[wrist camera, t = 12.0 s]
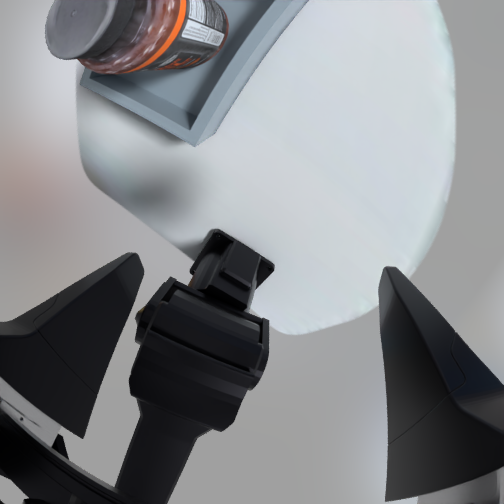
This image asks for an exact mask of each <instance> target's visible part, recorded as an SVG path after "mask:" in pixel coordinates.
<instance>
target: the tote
mask: <svg viewBox="0 0 504 504" xmlns="http://www.w3.org/2000/svg"><path fill="white" fill-rule="evenodd" d="M214 1H215V2H217V3H218V4H219V5H220V6H221V7H222V8H223V10H224V11H225V13H226V15H227V18H228V22H229V32H228V36H227V39H226V41H225V43H224V45H223V47H222V48H221V50H220V51H219V52H218V53H217V54H216V55H215V56H214V57H212V58H211V59H210V60H208V61H207V62H205V63H203V64H201V65H198V66H195V67H192V68H187V69H170V70H152V71H142V72H133V73H121V74H100V73H96V72H94V71H91V70H89V69H87V68H86V67H85V70H84V73H83V76H82V79H81V82H80V85H81V86H83V87H85V88H88V89H90V90H92V91H94V92H96V93H98V94H100V95H102V96H104V97H106V98H107V99H109V100H111V101H113V102H115V103H117V104H119V105H121V106H123V107H125V108H127V109H129V110H130V111H132V112H134V113H136V114H138V115H140V116H141V117H143V118H145V119H147V120H149V121H150V122H152V123H154V124H156V125H158V126H159V127H161V128H163V129H165V130H166V131H168V132H170V133H172V134H173V135H175V136H177V137H178V138H180V139H182V140H184V141H185V142H187V143H189V144H190V145H192V146H194V147H196V146H197V145H199V144H200V143H202V142H203V141H205V140H206V139H208V138H209V137H211V136H212V135H214V134H215V132H216V131H217V129H218V127H219V126H220V124H221V122H222V121H223V119H224V117H225V116H226V114H227V113H228V111H229V109H230V108H231V106H232V105H233V103H234V101H235V100H236V98H237V97H238V95H239V94H240V92H241V91H242V89H243V88H244V86H245V85H246V83H247V82H248V80H249V79H250V77H251V76H252V74H253V73H254V71H255V70H256V68H257V67H258V65H259V64H260V63H261V61H262V60H263V58H264V57H265V56H266V54H267V53H268V51H269V50H270V49H271V47H272V46H273V45H274V43H275V42H276V41H277V39H278V38H279V37H280V35H281V34H282V33H283V31H284V30H285V29H286V28H287V26H288V25H289V24H290V23H291V21H292V20H293V19H294V18H295V16H296V15H297V14H298V13H299V11H300V10H301V9H302V8H303V7H304V5H305V4H306V3H307V2H308V1H309V0H214Z"/></svg>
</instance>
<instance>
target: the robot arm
mask: <svg viewBox="0 0 504 504" xmlns="http://www.w3.org/2000/svg"><path fill="white" fill-rule="evenodd" d="M217 235H220V237H218V236H217ZM268 267H271V268H268ZM274 269H275V265H274V264H273V263H272V262H270V261H269V260H267V259H266V258H264V257H262V256H261V255H260V254H258V253H257V252H255V251H253V250H252V249H250V248H249V247H247V246H245V245H244V244H242V243H241V242H239V241H237V240H235V239H234V238H232V237H231V236H229V235H228V234H226V233H224V232H223V231H221V230H216V231H215V232H214V233H213V235H212V236H211V238H210V239H209V241H208V242H207V244H206V245H205V247H204V248H203V250H202V251H201V253H200V254H199V256H198V258H197V259H196V261H195V262H194V264H193V265H192V267H191V269H190V274H192V275H193V277H192V279H191V281H190V283H189V284H188V286H187V285H185V284H183V283H180V282H178V281H176V279H175V278H172V277H170V278H169V279H168V280H167V281H166V282H164V283H163V284H162V286H161V287H160V288H159V289H158V291H157V292H156V293H155V294H154V295H153V297H152V298H151V299H150V301H149V302H148V303H147V304H146V306H144V307H143V308H142V309H141V310H140V311H138V313H137V314H136V317H135V320H136V323H137V331H136V336H135V342H136V343H138V344H140V348H139V351H138V353H137V356H136V358H135V361H134V364H133V367H132V370H131V375H130V377H129V387H130V394H131V396H133V397H135V398H136V399H137V403H138V406H139V410H140V418H139V421H138V423H137V426H136V429H135V431H134V434H133V437H132V439H131V442H130V445H129V448H128V450H127V453H126V456H125V459H124V461H123V464H122V467H121V470H120V473H119V476H118V479H117V482H116V484H115V487H113V486H110V485H109V484H107V483H105V482H104V481H102V480H100V479H98V478H96V477H95V476H93V475H91V474H90V473H88V472H86V471H85V470H83V469H82V468H80V467H79V466H77V465H75V464H74V463H72V462H71V461H69V458H68V454H67V451H66V447H65V443H64V439H63V436H61V435H59V434H58V432H59V430H60V428H61V426H63V427H64V428H66V429H67V430H69V431H70V432H72V433H73V434H75V435H77V436H78V437H80V438H82V439H83V438H84V436H85V432H86V429H87V426H88V423H89V419H90V416H91V413H92V410H93V407H94V404H95V401H96V398H97V394H98V392H99V389H100V386H101V384H102V381H103V378H104V375H105V373H106V370H107V367H108V365H109V362H110V360H111V357H112V354H113V352H114V350H115V347H116V345H117V342H118V340H119V337H120V335H121V333H122V330H123V328H124V326H125V323H126V321H127V319H128V316H129V314H130V312H131V309H132V307H133V304H134V302H135V299H136V296H137V293H138V290H139V287H140V284H141V282H142V279H143V276H144V268H143V266H142V263H141V261H140V258H139V255H138V254H137V253H126V254H124V255H122V256H121V257H119V258H117V259H115V260H114V261H112V262H110V263H108V264H107V265H105V266H103V267H101V268H99V269H98V270H96V271H94V272H93V273H91V274H89V275H87V276H86V277H84V278H82V279H81V280H79V281H77V282H76V283H74V284H72V285H71V286H69V287H67V288H66V289H64V290H63V291H61V292H60V293H58V294H56V295H54V296H53V297H51V298H50V299H48V300H46V301H45V302H43V303H41V304H40V305H38V306H36V307H34V308H33V309H31V310H29V311H27V312H26V313H24V314H22V315H21V316H19V317H17V318H15V319H13V320H11V321H7V322H0V475H2V476H4V477H6V478H8V479H10V480H12V481H13V483H14V484H15V485H16V486H17V487H18V488H19V489H21V491H22V492H23V493H24V494H25V495H27V496H28V497H29V498H28V499H24V500H23V504H167V503H168V501H169V498H170V496H171V494H172V492H173V490H174V488H175V485H176V484H177V481H178V479H179V477H180V475H181V473H182V471H183V468H184V466H185V464H186V462H187V460H188V457H189V455H190V453H191V451H192V448H193V446H194V444H195V442H196V440H197V438H198V437H200V436H202V435H204V434H205V433H207V432H209V431H210V430H212V429H214V430H217V431H220V432H222V431H224V430H225V429H226V428H228V427H229V426H230V425H231V424H232V423H233V422H234V420H235V418H236V415H237V412H238V410H239V408H240V405H241V402H242V400H243V398H244V396H245V394H246V392H247V390H252V389H253V388H254V387H255V386H256V385H257V383H258V382H259V380H260V378H261V377H262V375H263V372H264V370H265V367H266V364H267V361H268V356H269V320H267V319H265V318H259V317H257V316H255V315H252V314H250V313H249V310H250V306H251V303H252V299H253V296H254V292H255V290H256V289H257V288H258V287H259V286H260V285H261V284H262V283H263V282H264V281H265V280H266V279H267V278H268V277H269V276H270V275H271V273H272V272H273V271H274ZM378 293H379V313H380V334H381V342H382V350H383V359H384V369H385V381H386V395H387V415H388V416H387V417H388V460H387V481H386V494H385V502H387V501H394V500H401V499H406V498H412V497H417V496H418V503H417V504H504V385H503V384H502V383H501V382H500V381H499V379H498V378H497V377H496V376H495V375H494V374H493V373H492V372H491V371H490V370H489V368H488V367H487V366H486V365H485V364H484V363H483V362H482V361H481V360H480V359H479V358H478V357H477V355H476V354H475V353H474V352H473V351H472V350H471V349H470V348H469V346H468V345H467V344H466V343H465V342H464V341H463V339H462V338H461V337H460V336H459V335H458V333H456V332H455V330H454V329H453V328H452V326H450V324H449V323H448V322H447V321H446V320H445V318H444V317H443V316H442V315H441V314H440V313H439V312H438V310H437V309H435V307H434V306H433V305H432V304H431V303H430V302H429V301H428V300H427V298H425V296H424V295H423V294H422V293H421V292H420V291H419V290H418V289H417V288H416V287H415V286H414V285H413V284H412V283H411V282H410V281H409V280H408V278H407V277H406V276H405V275H404V274H403V273H402V272H401V271H400V270H399V269H398V268H396V267H390V266H386V267H384V269H383V272H382V276H381V279H380V283H379V289H378ZM0 504H4V503H3V502H2V501H1V500H0Z"/></svg>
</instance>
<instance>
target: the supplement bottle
mask: <svg viewBox="0 0 504 504" xmlns="http://www.w3.org/2000/svg"><path fill="white" fill-rule="evenodd" d="M228 32H229V22H228V18H227V15H226V13H225V11H224V10H223V8H222V7H221V6H220V5H219V4H218V3H217V2H215V1H214V0H55V1H54V3H53V5H52V6H51V9H50V11H49V14H48V16H47V21H46V25H45V38H46V44H47V46H48V49H49V50H50V52H51V53H52V54H53V55H54V56H55V57H57V58H59V59H64V60H71V59H78V60H79V61H80V63H81V64H82V65H84V66H85V67H86V68H87V69H89V70H91V71H94V72H96V73H100V74H121V73H133V72H142V71H152V70H170V69H187V68H192V67H195V66H198V65H201V64H203V63H205V62H207V61H208V60H210V59H211V58H212V57H214V56H215V55H216V54H217V53H218V52H219V51H220V50H221V48H222V47H223V45H224V43H225V41H226V39H227V36H228Z"/></svg>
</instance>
